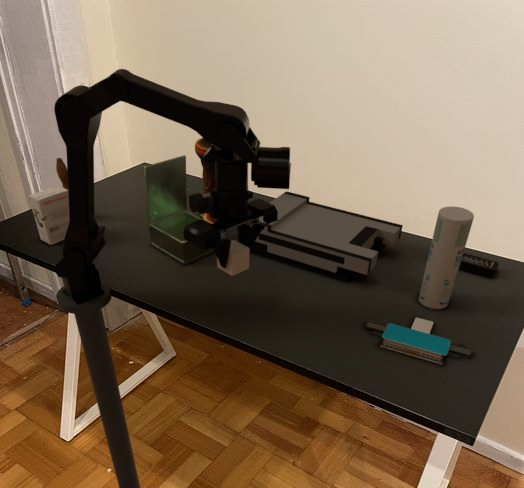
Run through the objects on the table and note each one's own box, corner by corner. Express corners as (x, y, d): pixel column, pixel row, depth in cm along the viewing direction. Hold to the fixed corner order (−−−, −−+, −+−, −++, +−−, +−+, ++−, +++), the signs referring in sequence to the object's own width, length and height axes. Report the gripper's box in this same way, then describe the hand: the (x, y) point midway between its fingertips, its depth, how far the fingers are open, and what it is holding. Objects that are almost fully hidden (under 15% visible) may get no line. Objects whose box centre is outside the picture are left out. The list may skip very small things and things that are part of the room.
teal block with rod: (475, 336, 102) (477, 329, 101) (465, 372, 94) (467, 365, 93) (376, 309, 109) (377, 303, 108) (358, 341, 100) (359, 334, 99)
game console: (364, 289, 115) (370, 256, 110) (243, 251, 128) (243, 220, 122) (397, 251, 129) (403, 220, 123) (285, 220, 141) (286, 191, 136)
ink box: (69, 228, 136) (59, 184, 128) (80, 234, 133) (70, 189, 126) (39, 239, 131) (27, 194, 123) (50, 245, 128) (38, 200, 121)
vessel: (216, 201, 150) (213, 129, 138) (260, 211, 146) (261, 137, 133) (189, 221, 140) (183, 145, 128) (236, 232, 136) (234, 154, 123)
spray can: (444, 312, 108) (470, 223, 96) (414, 304, 111) (435, 215, 98) (452, 298, 113) (477, 210, 100) (422, 289, 115) (443, 203, 102)
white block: (232, 276, 100) (231, 255, 97) (217, 267, 102) (216, 246, 99) (249, 268, 102) (249, 247, 99) (234, 259, 105) (234, 239, 102)
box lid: (186, 155, 122) (173, 148, 124) (145, 167, 116) (132, 159, 118) (186, 209, 132) (175, 202, 134) (149, 223, 125) (137, 215, 128)
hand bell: (73, 227, 136) (59, 166, 126) (50, 219, 140) (35, 160, 130) (96, 215, 142) (84, 156, 132) (73, 208, 145) (60, 150, 135)
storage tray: (221, 249, 128) (220, 228, 125) (184, 265, 122) (182, 243, 118) (187, 231, 135) (186, 210, 132) (151, 245, 129) (148, 224, 126)
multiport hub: (436, 254, 128) (438, 245, 126) (496, 270, 122) (499, 262, 121) (430, 261, 125) (432, 252, 124) (491, 279, 119) (494, 270, 118)
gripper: (240, 161, 101) (241, 234, 111) (161, 185, 91) (169, 263, 101) (281, 177, 95) (277, 253, 105) (201, 205, 85) (205, 286, 95)
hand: (233, 263), depth 102 cm, fingers closed on white block, 4 cm apart
